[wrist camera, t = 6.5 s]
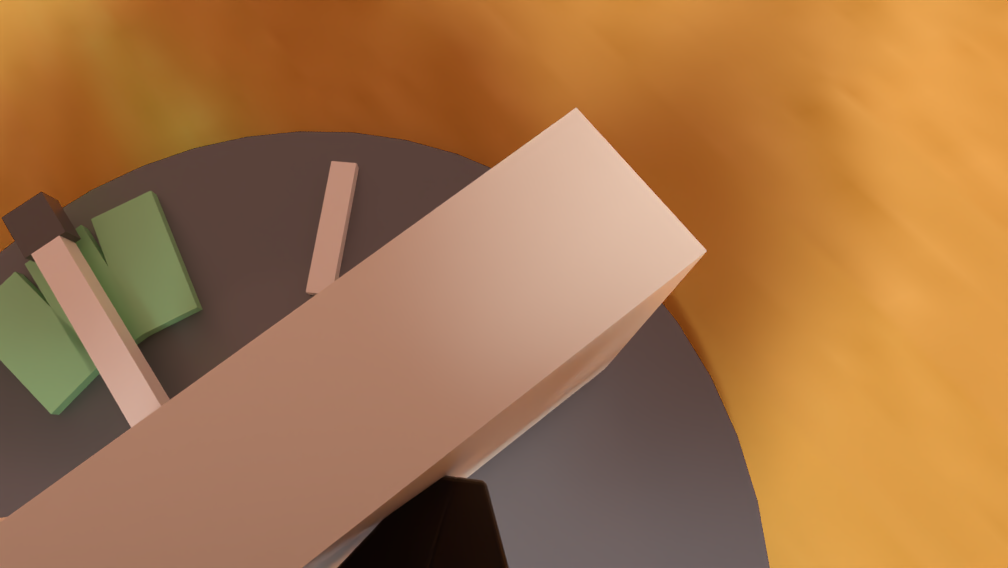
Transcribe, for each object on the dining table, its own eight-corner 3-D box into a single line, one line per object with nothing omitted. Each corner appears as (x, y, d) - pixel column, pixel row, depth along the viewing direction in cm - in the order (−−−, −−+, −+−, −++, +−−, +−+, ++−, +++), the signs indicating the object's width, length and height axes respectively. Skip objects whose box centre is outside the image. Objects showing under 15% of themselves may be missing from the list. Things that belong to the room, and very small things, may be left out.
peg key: (231, 727, 12) (-343, 1250, 4) (-25, 261, 14) (-661, 43, 7) (633, 403, 13) (780, 330, 5) (328, 29, 16) (131, -383, 8)
